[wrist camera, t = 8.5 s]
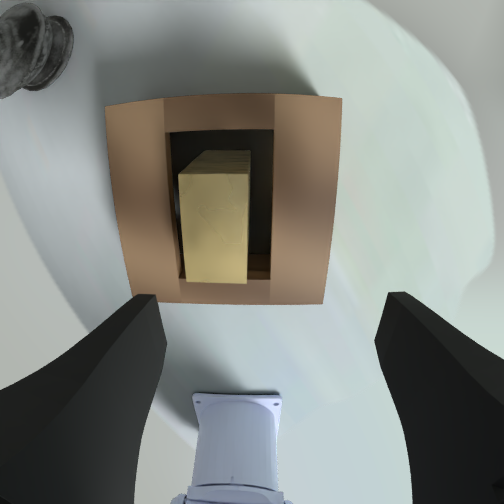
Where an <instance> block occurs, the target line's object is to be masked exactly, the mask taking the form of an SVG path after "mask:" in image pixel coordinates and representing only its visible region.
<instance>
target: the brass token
mask: <svg viewBox="0 0 504 504" xmlns="http://www.w3.org/2000/svg"><path fill="white" fill-rule="evenodd" d="M250 167H251V150H205V151H203V152H202V153H201V154H200V155H199V156H198V157H197V158H196V159H194V160H193V161H192V162H191V163H190V164H189V165H188V166H187V167H186V168H185V169H184V170H182V171H181V172H180V173H179V174H178V180H179V198H180V213H181V227H182V239H183V250H184V261H185V271H186V281H187V282H205V283H238V284H247V267H248V246H249V223H250Z"/></svg>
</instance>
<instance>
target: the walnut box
mask: <svg viewBox="0 0 504 504" xmlns="http://www.w3.org/2000/svg"><path fill="white" fill-rule="evenodd" d="M105 120H106V135H107V147H108V158H109V167H110V176H111V184H112V191H113V198H114V205H115V212H116V218H117V224H118V230H119V235H120V241H121V246H122V251H123V256H124V261H125V265H126V270H127V275H128V279H129V283H130V288H131V292H132V296H133V297H134V296H135V295H137V294H156V298H157V302H166V303H192V304H233V305H307V304H323V298H324V292H325V285H326V278H327V271H328V264H329V257H330V249H331V241H332V232H333V223H334V214H335V204H336V194H337V182H338V170H339V156H340V140H341V120H342V98H335V97H325V96H312V95H297V94H271V93H232V94H206V95H191V96H178V97H168V98H159V99H150V100H143V101H135V102H129V103H122V104H116V105H111V106H105ZM223 129H273V176H272V218H271V252H270V254H248V267H247V284H238V283H205V282H187V281H186V271H185V261H184V254H180V251H179V243H178V233H177V224H176V213H175V203H174V191H173V178H172V163H171V146H170V132H180V131H197V130H223Z"/></svg>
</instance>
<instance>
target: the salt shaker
mask: <svg viewBox="0 0 504 504" xmlns="http://www.w3.org/2000/svg"><path fill="white" fill-rule="evenodd" d="M72 48H73V32H72V28H71V26H70V24H69V22H68V21H66V20H65V19H64V18H62V17H58V16H50V17H45V15H43V14H42V12H41V10H40V8H38V7H37V6H36V5H34V4H31V3H22V4H18V5H15V6H14V7H12V8H10V9H8V10H7V11H6V12H5V13H4V14H3V15H1V16H0V99H3V98H6V97H8V96H10V95H12V94H13V93H14V92H16V91H17V90H19V89H21V88H22V87H23V88H24V89H27V90H29V91H38V90H41V89H44V88H46V87H47V86H49V85H50V84H52V83H53V82H54V81H55V80H56V79H57V78H58V77H59V76H60V74H61V73H62V71H63V70H64V68H65V67H66V65H67V63H68V60H69V58H70V56H71V52H72Z"/></svg>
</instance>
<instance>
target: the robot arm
mask: <svg viewBox="0 0 504 504" xmlns="http://www.w3.org/2000/svg"><path fill="white" fill-rule="evenodd" d="M374 341H375V346H376V350H377V354H378V358H379V362H380V366H381V369H382V372H383V375H384V377H385V380H386V383H387V385H388V388H389V390H390V393H391V396H392V399H393V401H394V404H395V407H396V410H397V412H398V415H399V418H400V421H401V424H402V428H403V431H404V435H405V441H406V446H407V452H408V457H409V465H410V473H411V483H412V499H413V504H504V359H502V358H500V357H498V356H497V355H495V354H494V353H492V352H490V351H488V350H487V349H485V348H484V347H482V346H481V345H479V344H478V343H476V342H475V341H473V340H472V339H470V338H469V337H468V336H466V335H464V334H463V333H462V332H460V331H459V330H458V329H456V328H455V327H454V326H452V325H451V324H450V323H448V322H447V321H446V320H444V319H443V318H442V317H440V316H439V315H438V314H436V313H435V312H434V311H432V310H431V309H429V308H428V307H427V306H425V305H424V304H423V303H421V302H420V301H419V300H417V299H416V298H414V297H413V296H411V295H410V294H408V293H406V292H388V295H387V299H386V303H385V306H384V310H383V313H382V317H381V320H380V324H379V327H378V330H377V334H376V337H375V340H374ZM166 346H167V341H166V337H165V333H164V329H163V325H162V320H161V316H160V312H159V307H158V302H157V298H156V294H137V295H135V296H134V297H133V298H131V299H130V300H129V301H128V302H126V303H125V304H124V305H123V306H122V307H120V308H119V309H118V310H117V311H116V312H115V313H113V314H112V315H111V316H110V317H109V318H107V319H106V320H105V321H104V322H103V323H102V324H100V325H99V326H98V327H97V328H96V329H94V330H93V331H92V332H91V333H89V334H88V335H87V336H86V337H84V338H83V339H82V340H80V341H79V342H78V343H77V344H75V345H74V346H73V347H72V348H70V349H69V350H68V351H66V352H65V353H64V354H62V355H61V356H59V357H58V358H56V359H55V360H54V361H52V362H50V363H49V364H47V365H46V366H44V367H43V368H41V369H39V370H38V371H36V372H34V373H32V374H31V375H29V376H27V377H25V378H23V379H21V380H20V381H18V382H16V383H14V384H12V385H10V386H8V387H6V388H4V389H2V390H0V504H134V492H135V481H136V472H137V464H138V457H139V449H140V444H141V438H142V434H143V430H144V426H145V423H146V419H147V416H148V413H149V410H150V407H151V404H152V401H153V397H154V394H155V391H156V388H157V385H158V382H159V378H160V375H161V372H162V368H163V363H164V358H165V352H166ZM192 400H193V404H194V408H195V411H196V415H197V419H198V423H199V433H198V440H197V447H196V455H195V462H194V470H193V477H192V485H191V486H188V492H187V495H186V494H179V495H178V496H177V497H175V498H173V499H172V501H171V504H293V503H292V502H291V501H289V500H285V501H284V496H283V492H278V472H277V447H276V440H277V434H278V427H279V420H280V413H281V405H282V397H281V396H279V395H223V394H204V393H195V394H193V396H192Z"/></svg>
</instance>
